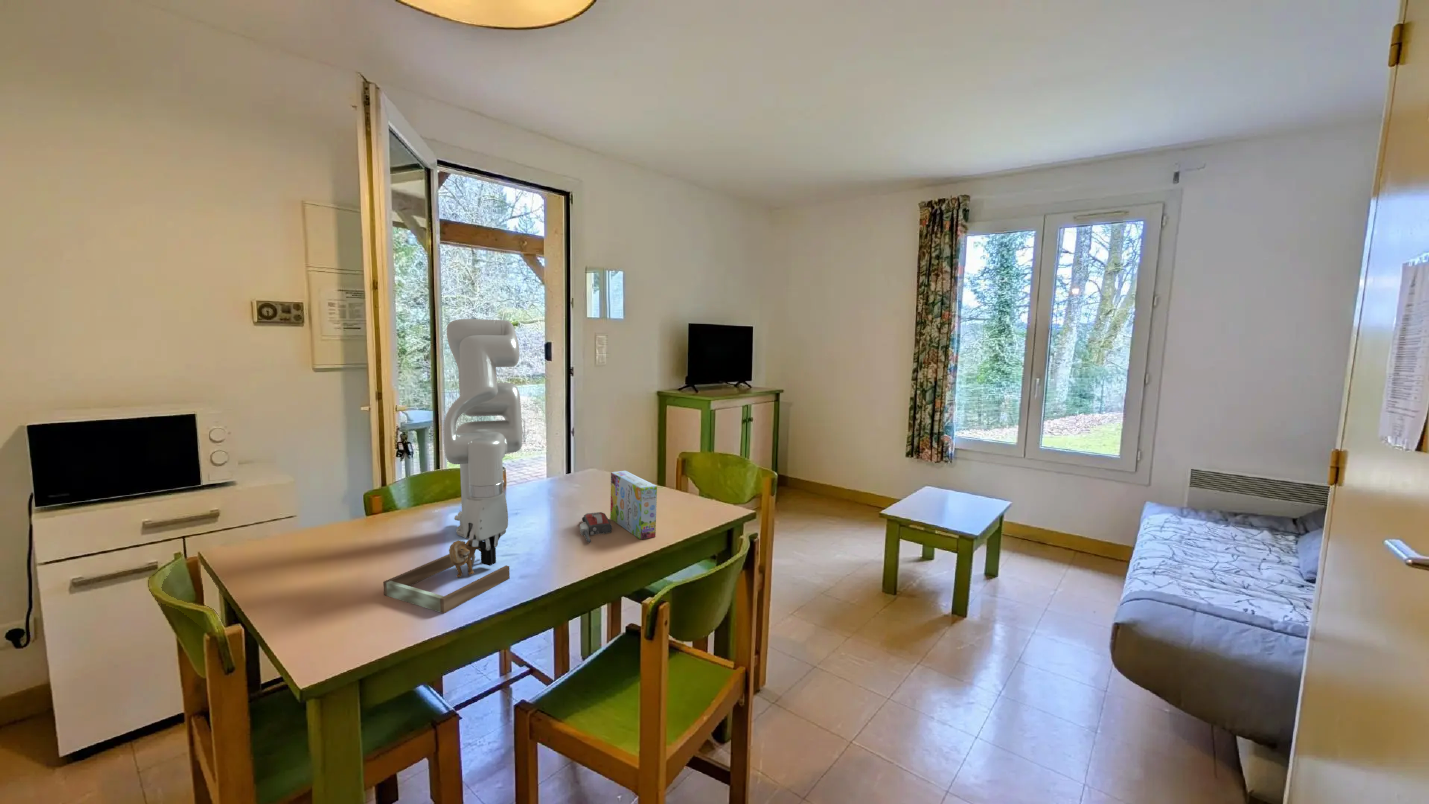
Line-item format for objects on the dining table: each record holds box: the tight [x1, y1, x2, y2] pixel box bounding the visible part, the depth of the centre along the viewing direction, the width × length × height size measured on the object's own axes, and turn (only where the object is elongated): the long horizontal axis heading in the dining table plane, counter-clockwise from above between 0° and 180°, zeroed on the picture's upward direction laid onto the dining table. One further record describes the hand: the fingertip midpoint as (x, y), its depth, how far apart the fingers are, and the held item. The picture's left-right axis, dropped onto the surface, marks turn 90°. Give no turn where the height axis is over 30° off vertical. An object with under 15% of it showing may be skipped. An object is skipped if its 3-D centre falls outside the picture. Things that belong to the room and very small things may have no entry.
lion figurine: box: [448, 539, 481, 578], centre depth 132 cm, size 15×5×9 cm, turn 5°
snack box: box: [609, 470, 658, 540], centre depth 163 cm, size 21×6×15 cm, turn 34°
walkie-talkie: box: [579, 511, 613, 544], centre depth 160 cm, size 9×4×20 cm
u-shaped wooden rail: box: [383, 553, 511, 614], centre depth 124 cm, size 18×18×3 cm
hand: (488, 563), depth 134 cm, fingers closed
